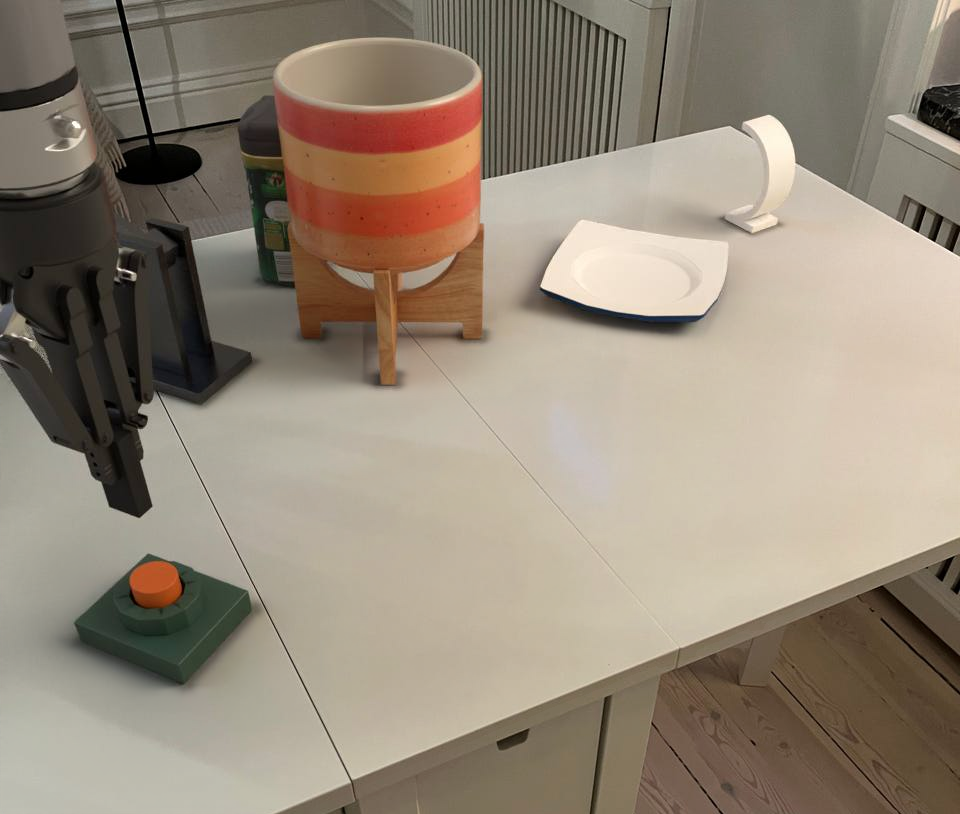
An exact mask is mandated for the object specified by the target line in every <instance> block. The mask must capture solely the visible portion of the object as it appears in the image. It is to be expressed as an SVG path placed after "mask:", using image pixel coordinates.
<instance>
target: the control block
mask: <svg viewBox="0 0 960 814" xmlns="http://www.w3.org/2000/svg"><path fill="white" fill-rule="evenodd" d="M154 561H163V562H167V563H170V564H171V565H173V566H174V567H175V568H176V570H177V572H178V576H179V579H180V583H181V587H182V592H181V595H180V597H179V598H178V599H177V600H176V601H175V602H174V603H173V604H170V605H168V606H165V607H163V608H158V609H148V608H144V607H142V606H140V605H139V604H138V603H137V602H136V601H135V598H134V595H133V592H132V589H131V586H130V583H129V579H130V576H131V574H132V572H133V571H134V570H135V569H136V568H138V567H139V566H141V565H143V564H145V563H149V562H154ZM250 597H251V596H250V592H249V590H248V589H244V588H242V587H239V586H237V585H234V584H231V583H229V582H226V581H223V580H221V579H218V578H216V577H213V576H210V575H208V574H205V573H203V572H199V571H196V570H194V568H193V567H191V566H188V565H186V564H183V563H180V562H178V561H174V560H168V559H164V558H162V557H159V556H157V555H154V554H151V553H147V554H146V555H144V556H143V557H142V558H141V559H140V560H139V561H138V562H137V563H136V564H134V566H132V567H131V568H130V569H129V571H127V572H126V573H125V574H124V575H122V577H121V578H120V579H119V580H117V582H115V583H114V584H113V585H112V586H111V587H110V588H109V589H108V590H107V591H105V592H104V593H103V595H101V596H100V597H99V598H98V599H97V600H96V601H95V602H93V604H92V605H90V607H88V608H87V609H86V610H85V611H84V612H83V613H82V614H81V615H80V616H79V617H77V619H75V621H73V624H74V627H75V629H76V632H77V635H78V636H79V639H80V642H81V643H84V644H87V645H88V646H91V647H94V648H96V649H99V650H101V651H104V652H105V653H109V654H111V655H113V656H115V657H118V658H120V659H123V660H125V661H127V662H130V663H132V664H135V665H137V666H139V667H141V668H144V669H146V670H149V671H151V672H154V673H155V674H159V675H161V676H163V677H166V678H168V679H170V680H173V681H175V682H176V683H179V684H180V683H181V684H183V685H185V684H186V683H187V682H188V681H189V679H191V677H192V676H193V675H194V674H195V673H196V672H197V671H198V670H199V669H200V667H201V666H202V665H203V664H204V663H205V662H206V661H207V660H208V659H209V658H210V656H212V654H213V653H214V652H215V651H217V649H218V648H219V647H220V646H221V645H222V644H223V643H224V642H225V640H226V639H227V638H228V637H229V636H230V635H231V633H232V632H233V631H235V630H236V628H237V627H238V626H239V625H240V624H241V623H242V622H243V621H244V619H245V618H247V616H248V615H249V614H250V613H251V612H252V611H253V607H252V603H251V599H250Z"/></svg>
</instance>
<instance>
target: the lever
mask: <svg viewBox="0 0 960 814" xmlns="http://www.w3.org/2000/svg"><path fill="white" fill-rule="evenodd" d="M113 213H114V217H115V221H116V230H115V233H116V232H117V233H118V234H119V235H121V236H123V235H124V234H127V235H130V236H134V237H138V238H142V239H146V240H150V241H153V242H157V243H161V244H162V246H163V250H164V255H165V259H166V264H167V268H170V267H171V266H173V265H174V264H175V263H176V256H177V249H178V243H176V242H175V241H173V240H172V239H170V238H169V237H167V236H166V235H164V234H163V233H161V232H160V231H158V230H157V229H155V228H153V229H152V230H150V231H148V230H147V232H146V231H144V230H142V229H141V228H139V227H138V226H136V225H135V224H133V223H132V222H130V221H129V220H127V219H125V218H124V217H123V216H121V215H120V214H118V213H117V212H116V211H114V210H113Z"/></svg>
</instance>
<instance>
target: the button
mask: <svg viewBox="0 0 960 814" xmlns="http://www.w3.org/2000/svg"><path fill="white" fill-rule="evenodd" d="M129 583H130V586H131V589H132V592H133V595H134V598H135V601H136V602H137V603H138V604H139V605H140V606H142V607H144V608H148V609H158V608H163V607H165V606H168V605H170V604H173V603H174V602H175V601H176V600H177V599H178V598H179V597H180V595H181V592H182V587H181V583H180V579H179V576H178V572H177V570H176V568H175V567H174V566H173V565H171V564H170V563H167V562H163V561H154V562H149V563H145V564H143V565H141V566H139V567H138V568H136V569H135V570H134V571H133V572H132V574H131V576H130V579H129Z"/></svg>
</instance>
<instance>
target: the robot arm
mask: <svg viewBox="0 0 960 814" xmlns="http://www.w3.org/2000/svg"><path fill="white" fill-rule="evenodd" d="M75 60H76V59H75V56H74V52H73V47H72V44H71V39H70V35H69V31H68V26H67V22H66V19H65V15H64V11H63V6H62V2H61V0H0V305H1V308H0V366H1V368H2V369H3V371H4V372H5V374H6V375H7V377H8V378H9V379H10V381H11V382H12V384H13V386H14V387H15V389H16V391H17V392H18V394H19V395H20V397H21V398H22V399H23V401H24V402H25V404H26V405H27V406H28V409H29V410H30V411H31V413H32V414H33V416H34V418H35V419H36V420H37V422H38V423H39V426H40V427H41V428H42V430H43V431H44V433H46V435H47V437H48V439H49V440H50V441H51V442H52V443H53V444H55V445H58V446H61V447H64V448H67V449H70V450H72V451H75V452H77V453H81V454H84V457H85V461H86V463H87V466H88V469H89V472H90V475H91V476H92V478H93V479H94V480H95V481H98V482H100V483H101V486H102V490H103V492H104V495H105V499H106V501H107V505H108V508H111V509H113V510H115V511H118V512H121V513H124V514H127V515H130V516H132V517H135V518H138V519H141V518H142V517H143V516H144V515H145V514H147V513H148V511H150V510H151V509H152V508H153V502H152V497H151V495H150V492H149V487H148V483H147V480H146V477H145V473H144V469H143V467H142V462H141V461H142V460H144V456H145V455H144V447H143V443H142V440H141V436H140V433H139V430H143V429H145V428H146V427H147V425H148V422H149V416H148V415H147V414H143V413H140V412H139V410H140V409H141V407H142V405H149V404H151V402H153V400H154V396H155V395H154V394H155V390H154V389H153V374H152V358H151V343H150V327H149V312H148V296H147V289H148V283H149V277H150V271H151V265H152V259H151V256H150V255H149V254H148V253H145V252H142V251H138V250H134V249H131V248H127V247H123V246H120V244H118V242H117V240H116V238H115V237H114V236H115V233H116V231H115V230H116V221H115V217H114V213H113V211H114V209H113V206H112V202H111V197H110V194H109V189H108V185H107V182H106V178H105V174H104V170H103V169H102V167H100V165H98V164H97V163H96V162H95V161H96V159H97V157H98V148H97V144H96V139H95V136H94V131H93V127H92V123H91V120H90V115H89V111H88V108H87V104H86V100H85V96H84V91H83V87H82V84H81V80H80V76H79V72H78V68H77V65H76V61H75ZM26 325H27V326H28V327H30V328H31V330H32V333H33V335H34V338H31V335H30V333H29V332H28V331H27V328H26ZM37 344H38V345H39V347H41V348H42V349H43V350H44V352H45V355H46V358H47V362H48V364H49V365H48V364H47V362H46V361H45V359H44V358H43V356H41V355H40V354H39V352H37V351H36V350H35V349H36V347H37ZM131 377H133V378H135V382H133V381H130V379H131Z"/></svg>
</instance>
